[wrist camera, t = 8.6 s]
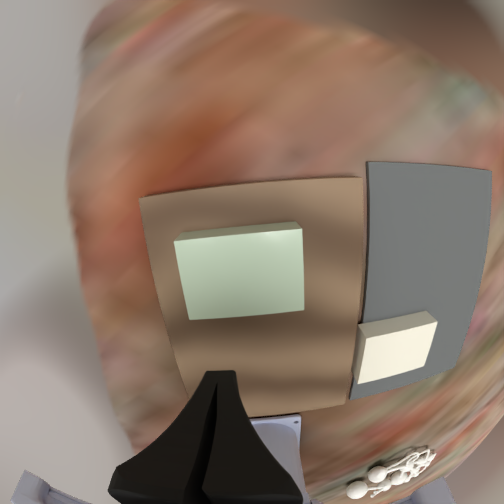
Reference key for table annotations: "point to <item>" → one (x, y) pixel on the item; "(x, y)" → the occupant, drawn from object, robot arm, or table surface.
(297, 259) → the tile sage
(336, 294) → the board
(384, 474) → the tangled rod sculpture
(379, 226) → the mat
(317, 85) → the table surface
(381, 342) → the tile cream
